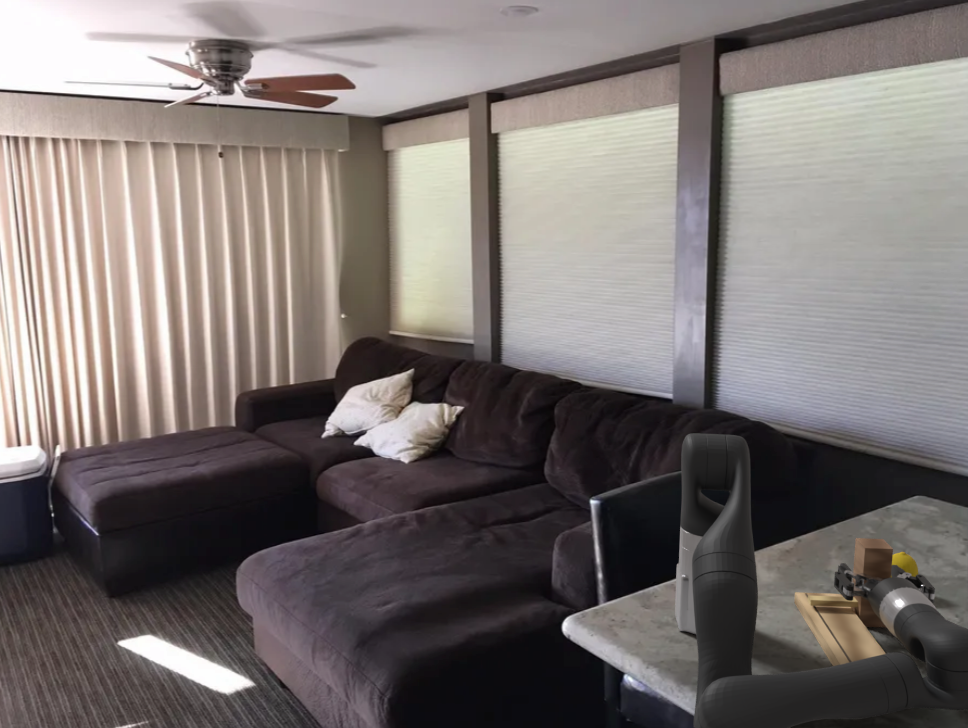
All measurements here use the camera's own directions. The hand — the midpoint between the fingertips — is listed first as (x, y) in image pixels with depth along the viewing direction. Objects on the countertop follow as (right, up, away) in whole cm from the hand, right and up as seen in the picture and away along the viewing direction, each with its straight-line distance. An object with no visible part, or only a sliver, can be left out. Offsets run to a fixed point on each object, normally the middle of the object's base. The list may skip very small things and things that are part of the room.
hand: (867, 569), depth 143 cm
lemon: (+11, -7, +10) cm, 17 cm away
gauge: (-4, -9, 0) cm, 10 cm away
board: (-8, -10, -7) cm, 14 cm away
